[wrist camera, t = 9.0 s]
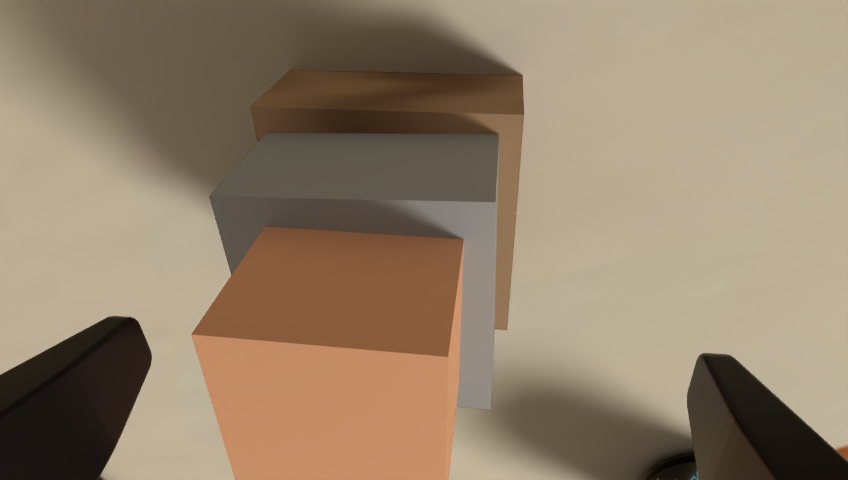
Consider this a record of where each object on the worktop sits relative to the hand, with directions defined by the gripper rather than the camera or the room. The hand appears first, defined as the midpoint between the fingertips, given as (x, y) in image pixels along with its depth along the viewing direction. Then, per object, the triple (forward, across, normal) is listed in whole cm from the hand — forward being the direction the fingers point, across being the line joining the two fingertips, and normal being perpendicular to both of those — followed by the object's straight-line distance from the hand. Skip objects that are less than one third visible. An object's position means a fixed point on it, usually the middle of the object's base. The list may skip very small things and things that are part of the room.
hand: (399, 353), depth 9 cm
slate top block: (+9, +2, +4) cm, 10 cm away
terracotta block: (+5, +2, +4) cm, 7 cm away
